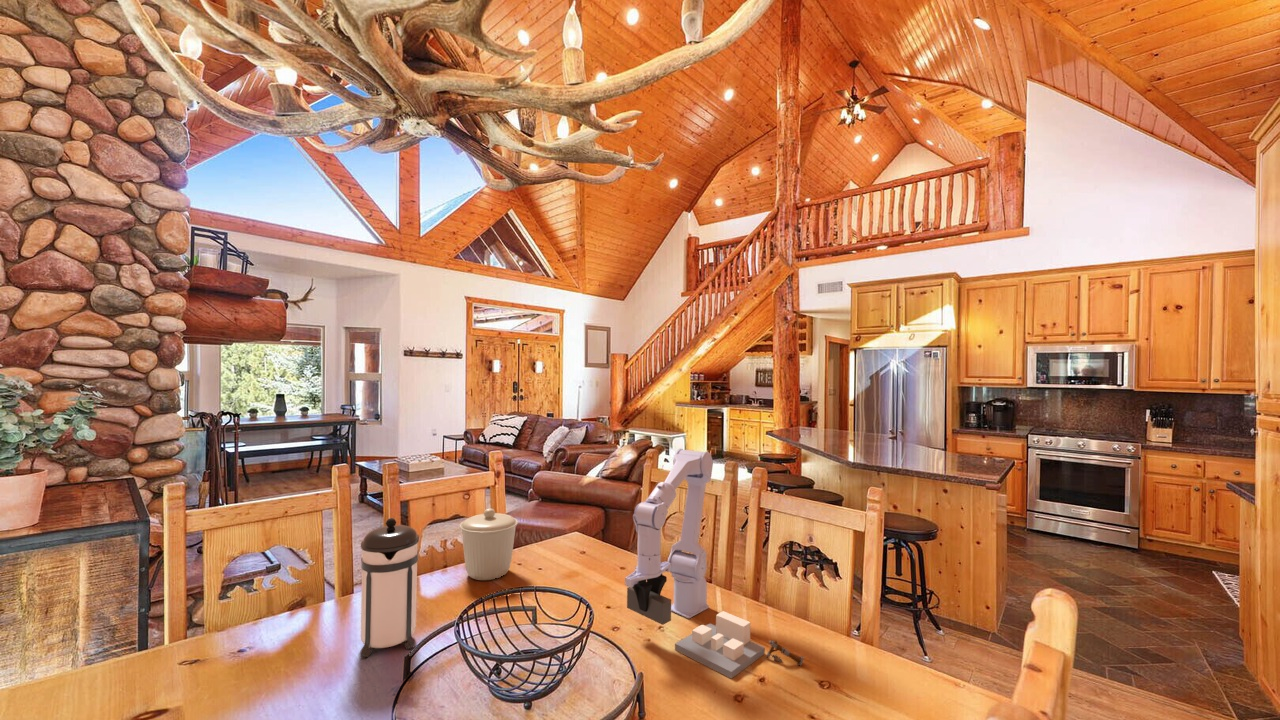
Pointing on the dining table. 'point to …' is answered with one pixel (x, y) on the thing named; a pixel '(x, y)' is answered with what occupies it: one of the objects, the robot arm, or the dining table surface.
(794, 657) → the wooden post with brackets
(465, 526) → the canister
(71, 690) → the dining table surface
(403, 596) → the coffee press
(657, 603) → the charcoal rectangular block
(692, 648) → the stand
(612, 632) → the dining table surface
